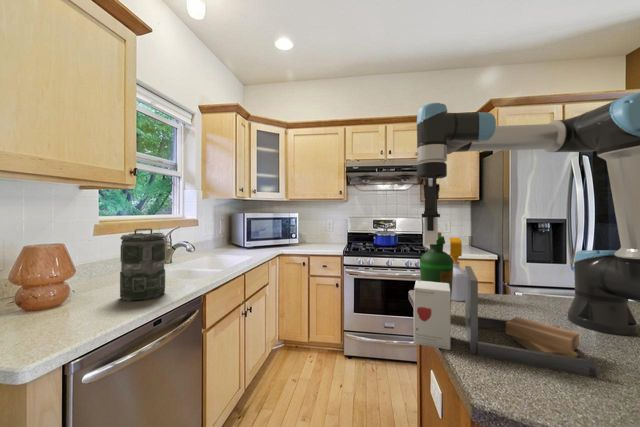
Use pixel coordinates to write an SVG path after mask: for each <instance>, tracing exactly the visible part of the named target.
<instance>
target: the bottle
mask: <svg viewBox="0 0 640 427" xmlns="http://www.w3.org/2000/svg"><path fill="white" fill-rule="evenodd" d="M444 244H446V241H445V236H444V235H442V231H441V232H440V231H438V240H437V244H429V250H428V251H426V252H425V253H423V254H422V255H421V257H420V258H419V269H420V270H419V271H420V281H429V282H439V283H449V285H450V293H451V297H452V280H453V263H454V260H453V258H452V257H451V256H450V255H449V254H450V253H447V252H445V251H444Z"/></svg>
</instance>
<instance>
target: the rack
mask: <svg viewBox="0 0 640 427" xmlns="http://www.w3.org/2000/svg"><path fill="white" fill-rule="evenodd" d="M464 271H465V301H464V316H465V317H464V324H465V331H466V335H467V341H468V348H469V353H470V355H471V356H475V357H482V358H487V359H492V360H498V361H502V362H508V363H512V364H513V363H514V364H519V365H523V366H524V365H525V366H529V367H530V366H531V367H536V368H540V369H541V368H542V369H545V370H546V369H547V370H552V371H558V372H562V373H568V374H574V375H579V376H585V377H590V378H595V379H597V378H598V371H597V367H598V366H597V365H598V364H597V362H596V361H595V360H591V359H588V358H587V357H586V356H585V355H584V354H583V353H582V352H581V351H580V350H579V349H578V347H577V348H576V349H575V350H574V352H576V353H578V358H575V357H569V356H563V355H557V354H550V353H544V352H538V351H532V350H528V349H526V348H525V349H524V348H520V347H519V348H518V347H514V346H507V345H502V344H501V345H500V344H494V343H489V342H484V341H479V328H482V329H489V330H495V331H502V332H506V322H507V321H509V320H510V319H505V318H497V317H490V316H489V317H488V316H481V315H479V281H478V279H477V277H476V274H475V272H474V270H473V269H472V266H471V265H465V266H464ZM549 325H550V324H549ZM550 326H552V325H550ZM553 326H554V327H558V328H561V327H560V326H559V325H557V326H556V325H553Z"/></svg>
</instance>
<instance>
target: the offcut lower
mask: <svg viewBox="0 0 640 427" xmlns="http://www.w3.org/2000/svg"><path fill="white" fill-rule="evenodd" d="M511 338H512V339H513V340H514V341H516V342H517V343H518V344H520V345H521V346H523V347H524V348H525V349H526V350H532V351H538V352H544V353H550V354H557V355H563V356H569V357H575V358H578V353H576V352H574V351H573V352H572V353H571V354H570V353H567V352H563V351H560V350H557V349H554V348H550V347H547V346H544V345H541V344H538V343H534V342H531V341H528V340H525V339H521V338H518V337H515V336H512V335H511Z"/></svg>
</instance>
